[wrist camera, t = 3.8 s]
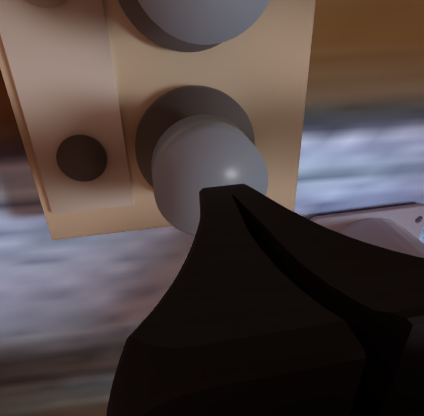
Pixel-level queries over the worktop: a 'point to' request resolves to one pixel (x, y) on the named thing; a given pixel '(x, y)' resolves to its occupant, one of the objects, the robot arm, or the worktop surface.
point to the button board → (142, 101)
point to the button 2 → (202, 166)
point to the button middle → (204, 18)
